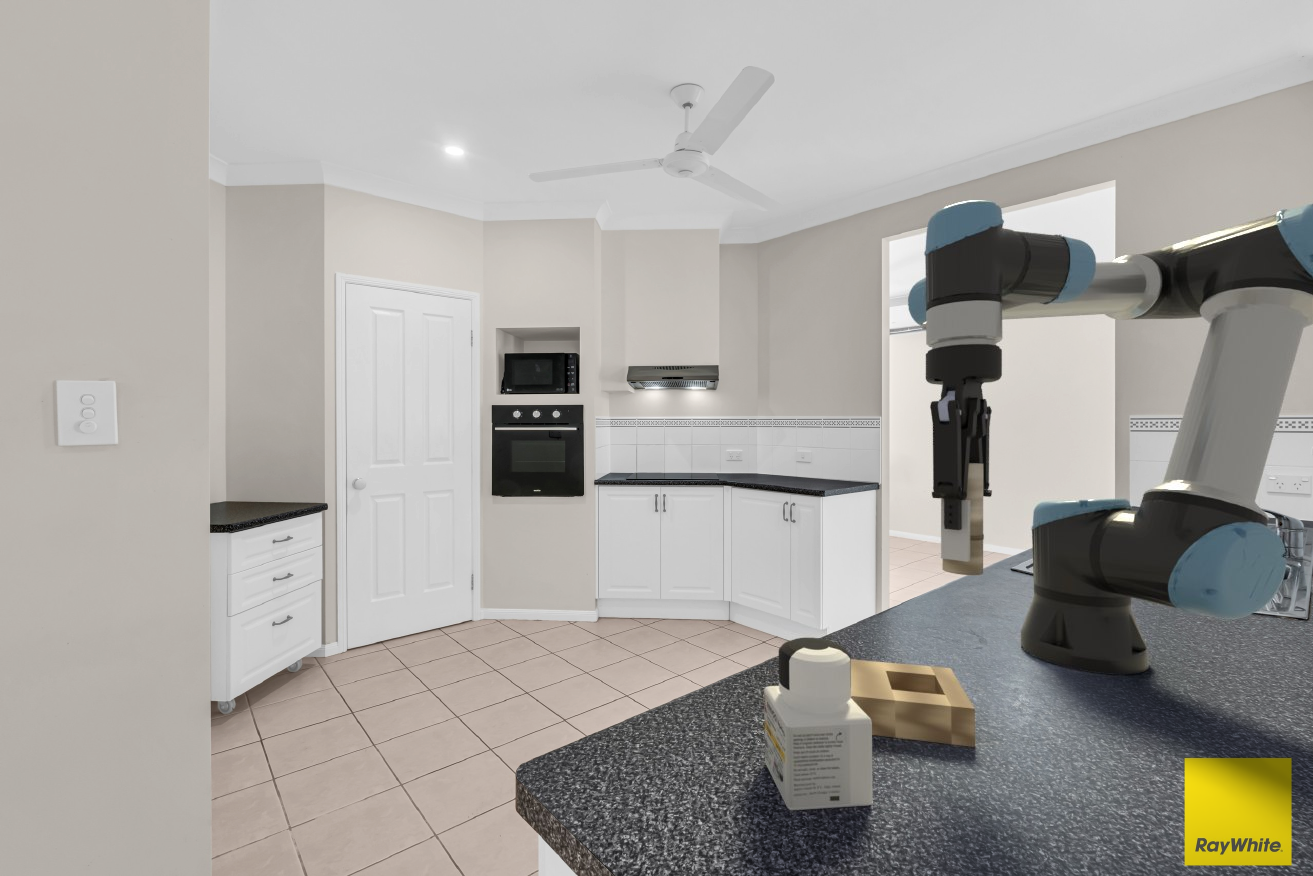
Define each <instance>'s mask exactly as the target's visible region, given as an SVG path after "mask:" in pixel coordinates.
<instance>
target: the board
mask: <svg viewBox="0 0 1313 876" xmlns="http://www.w3.org/2000/svg"><path fill="white" fill-rule="evenodd" d="M951 668H952V667H951ZM951 668H950V667H941V666H940V667H939V666H931V665H920V664H910V663H909V664H908V663H898V662H896V663H895V662H884V661H883V662H882V661H874V660H873V661H872V660H863V659H861V660H860V659H852V658H851V699H852V700H853V701H854V702H855V703H856V704H857V705H858V706H859V707H860V708H861V709H862V710H863V711H864V712H865V713H866V714H867V716H868V717H869V718H870V719H871V721H872V736H879V737H887V738H889V737H890V738H897V739H904V740H912V741H913V740H915V741H919V742H920V741H921V742H929V743H930V742H931V743H938V744H945V745H946V744H947V745H954V746H955V745H956V746H963V747H970V748H971V747H972V748H975V747H976V708H975V707H974V705H973V703H972V702H971V700H970V699H969V696H968V694H967V693H966V691H965V690H964V689H963V687H962V685H961V683H960V682H959V680H958V678H957V677H956V675H955V674H954V671H953V670H952V669H951Z"/></svg>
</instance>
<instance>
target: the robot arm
mask: <svg viewBox="0 0 1313 876" xmlns="http://www.w3.org/2000/svg"><path fill="white" fill-rule="evenodd" d="M1002 211H1003V210H1002V208H1001V207H1000V206H999V205H997V203H996V202H994V201H990V200H981V199H980V200H977V199H975V200H966V201H961V202H957V203H954V204H951V205H948V206H947V205H946V206H945V207H944V208H942V209H940V210H938V211H936V212H935V213H934V214H933V215H932V216H931V217H930V219H929V220H928V223H927V226H926V227H927V229H926V236H925V248H924V250H925V251H924V252H923V254H924V257H925V259H924V260H925V277H924V278H921V279H920V280H918V281H917V282H916V283H915V284H914V285H913V286H912V287H911V289H910V291H909V294H908V298H907V307H908V312H909V314H910V316H911V318H912V319H913V321H914V322H915V323H917V324H918V325H919V326H921V328H922V331H925V335H926V337H925V338H926V339H925V341H926V344H925V345H927V346H928V348H931V349H929V350H928V351H927V353H925V380H926V382H927V383H928V384H931V385H941V387H942V388H941V393H940V399H939V400H933V401H931V402H930V406H929V407H930V414H931V420H932V471H933V473H932V477H933V478H932V481H933V483H932V484H933V487H932V490H933V491H931V496H932V498H933V499H940V558H941V559H943V558H944V559H951V560H958V561H966V562H969V561H970V500H966V497H967V484H968V468H969V463H979V464H983V497H985V498H986V497H988V498H991V497H992V493H993V490H992V489H990V427H991V426H990V425H991V417H992V416H991V415H992V411H993V410H992V407H991V406H989V405H988V402H987V399H986V398H984V395H983V389H982V385H983V384H984V383H993V382H997V381H999V380H1000V379H1001V378H1002V376H1003V349H1002V348H1001V347H1000V346H999V345H997V344H998V343H1000V342H1001V341H1002V340H1003V320H1021V319H1023V320H1024V319H1037V318H1039V319H1041V318H1054V317H1055V318H1056V317H1074V316H1075V317H1076V316H1090V315H1091V316H1093V315H1105V316H1107V317H1108V318H1111V319H1113V320H1120V321H1121V320H1122V321H1124V320H1125V321H1126V320H1177V319H1178V320H1179V319H1182V320H1183V319H1195V318H1196V319H1197V318H1203V319H1204V320H1205V321H1207V322H1208V323H1209V328H1208V332H1207V334H1206V338H1205V341H1204V345H1203V348H1202V351H1201V355H1200V358H1199V362H1198V365H1197V369H1196V371H1195V375H1194V379H1193V381H1192V385H1191V389H1190V392H1189V396H1188V398H1187V401H1186V405H1185V408H1184V411H1183V415H1182V418H1181V422H1180V425H1179V427H1178V432H1177V435H1176V439H1175V442H1174V445H1173V448H1172V452H1171V455H1170V458H1169V461H1168V463H1167V464H1168V465H1167V468H1166V472H1165V474H1164V475H1165V476H1164V477H1163V482H1161V484H1159V485H1157V486H1154V487H1151V488H1149V489H1147V490H1145V491H1144V492H1143V494H1142V499H1141V501H1140V502H1141V503H1140V504H1139V508H1138V510H1132V508H1133V506H1132V505H1131V503H1130V500H1128V499H1127V498H1103V499H1102V498H1101V499H1096V498H1095V499H1073V500H1071V499H1070V500H1051V501H1050V500H1049V501H1041V502H1040V503H1038V504H1037V505H1036V506H1035V507H1034V509H1033V512H1032V513H1033V516H1032V525H1031V538H1032V541H1031V543H1032V545H1031V546H1032V568H1033V569H1032V570H1033V573H1032V575H1033V598H1032V601H1031V603H1030V605H1029V607H1028V611H1027V613H1026V616H1025V619H1024V621H1023V624H1022V626H1021V629H1020V646H1021V648H1022V647H1023V648H1022V649H1023V650H1024V649H1025V650H1026V651H1027V653H1028V652H1029V653H1028V654H1030V655H1031V654H1032V655H1031V656H1033V655H1034V657H1035V656H1036V658H1037V659H1040V660H1043V661H1045V662H1048V663H1051V664H1053V665H1058V666H1061V667H1065V668H1069V669H1073V670H1077V671H1083V672H1090V673H1097V674H1098V673H1099V674H1105V675H1106V674H1107V675H1108V674H1109V675H1133V674H1141V673H1143V672H1145V671H1147V670H1148V669H1149V666H1150V665H1149V650H1148V647H1147V644H1146V642H1145V639H1144V637H1143V635H1142V632H1141V630H1140V626H1139V624H1138V622H1137V620H1136V617H1135V615H1134V612H1133V609H1132V598H1133V599H1137V600H1141V601H1145V602H1149V603H1153V604H1157V605H1161V606H1166V607H1168V608H1169V607H1170V608H1173V609H1176V610H1177V609H1178V610H1179V611H1181V612H1184V613H1187V614H1190V615H1194V616H1195V615H1198V616H1199V615H1202V616H1207V617H1211V618H1216V619H1224V620H1236V619H1237V620H1238V619H1242V618H1247V617H1249V616H1251V615H1252V614H1253V613H1257V612H1259V611H1261V610H1262V609H1263V608H1265V607H1266V606H1267V605H1268V604H1269V603H1270V602H1271V601H1272V600H1273V598H1274V597H1275V596H1276V595H1277V592H1278V591H1279V589H1280V587H1281V586H1282V583H1283V580H1284V578H1285V574H1286V568H1287V558H1285V557H1283V556H1284V555H1285V553H1286V548H1285V545H1284V542H1283V540H1282V539H1281V537H1280V536H1279V535H1278V533H1277V532H1276V531H1274V530H1273V529H1272V528H1270V527H1268V523H1269V516H1268V515H1267V513H1266V512H1265V511H1264V510H1263V509H1262V508H1261V507H1260V506H1259V505H1258V504H1257V503H1256V498H1257V495H1258V491H1259V487H1260V485H1261V482H1262V481H1261V480H1262V478H1263V474H1264V470H1265V467H1266V463H1267V460H1268V457H1269V456H1268V455H1269V451H1270V448H1271V445H1272V441H1273V438H1274V434H1275V431H1276V427H1277V424H1278V421H1279V418H1280V413H1281V410H1282V406H1283V402H1284V399H1285V396H1286V392H1287V389H1288V384H1289V381H1290V378H1291V374H1292V371H1293V367H1294V363H1295V361H1296V357H1297V353H1298V350H1299V349H1298V348H1299V346H1300V342H1301V340H1302V335H1303V332H1304V329H1305V328H1306V327H1309V326H1312V325H1313V203H1309V204H1305V205H1302V206H1299V207H1295V208H1291V209H1281V210H1279V211H1277V212H1276V214H1272V215H1269V216H1265V217H1263V218H1257V219H1256V220H1251V221H1247V222H1245V223H1241V224H1238V225H1235V226H1234V225H1233V226H1230V227H1227V228H1224V229H1220V230H1217V231H1213V232H1210V233H1207V234H1204V235H1201V236H1195V237H1192V238H1190V239H1185V240H1184V241H1180V242H1177V243H1175V244H1171V245H1169V246H1166V247H1162V248H1159V249H1155V250H1152V251H1148V252H1145V253H1139V254H1138V253H1137V254H1135V253H1134V254H1126V255H1122V256H1120V257H1117V258H1116V259H1113V260H1112V261H1111V262H1110V261H1106V262H1097V261H1096V260H1097V259H1096V258H1097V257H1096V254H1095V251H1094V249H1093V248H1092V247H1091V246H1090V245H1089V244H1088V243H1087V242H1085V241H1084V240H1081V239H1077V238H1071V237H1068V236H1065V235H1062V234H1047V233H1046V234H1045V233H1036V232H1029V231H1028V232H1027V231H1018V230H1017V231H1015V230H1013V229H1009V228H1004V227H1003V226H1004V223H1005V220H1004V219H1003V212H1002ZM1025 650H1024V651H1025ZM1026 651H1025V652H1026Z"/></svg>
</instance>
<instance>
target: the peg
mask: <svg viewBox="0 0 1313 876" xmlns="http://www.w3.org/2000/svg"><path fill="white" fill-rule="evenodd" d="M966 500H970V561H969V562H966V561H958V560H951V559H944V558H942V570H943V571H944V572H947V573H948V574H949V573H950V574H955V575H961V576H962V575H963V576H981V575H983V574H984V540H985V536H984V535H985V534H984V496H983V464H979V463H969V468H968V484H967V497H966Z"/></svg>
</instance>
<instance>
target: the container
mask: <svg viewBox="0 0 1313 876" xmlns="http://www.w3.org/2000/svg"><path fill="white" fill-rule="evenodd" d="M851 659H852V657H851V653H849V652H848V650H847V649H846V648H845V647H843V646H842V645H840V644H838V643H837V642H834V641H831V640H829V639H824V638H821V637H820V638H819V637H797V638H794V639H791V640H788V641H786V642H784V643H782V645H781V646H780V647H779V648H778V685H774V686H773V685H772V686H771V685H769V686H765V687H764V688H763V689H764V691H763V694H764V695H763V696H764V697H763V699H764V700H763V701H764V703H763V704H764V710H763V712H764V761H765V762H764V763H765V765H766V767H767V769H768V770H769V773H770V776H771V777H772V779H773V781H774V783H775V785H776V788H777V790H778V791H779V794H780V796H781V797H782V800H783V801H784V804H785V805H786V808H787V809H788V810H789V811H800V810H801V811H802V810H818V809H819V810H820V809H830V808H831V809H832V808H835V809H836V808H848V807H867V806H870V805H872V804H873V735H872V721H871V719H870V718H869V717H868V716H867V714H866V713H865V712H864V711H863V710H862V709H861V708H860V707H859V706H858V705H857V704H856V703H855V702H854V701H853V700H852V699H851Z"/></svg>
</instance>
